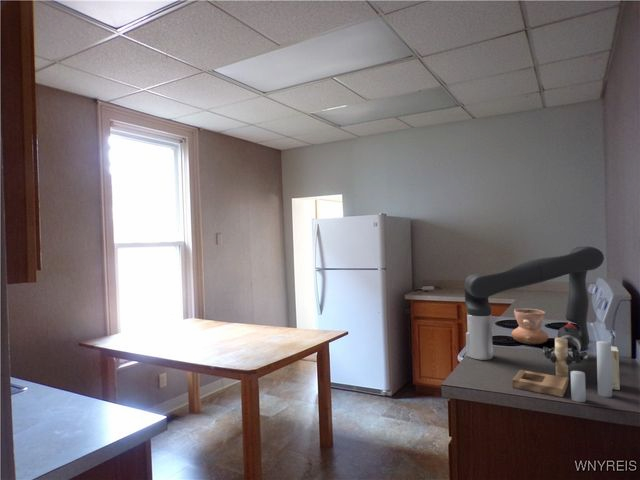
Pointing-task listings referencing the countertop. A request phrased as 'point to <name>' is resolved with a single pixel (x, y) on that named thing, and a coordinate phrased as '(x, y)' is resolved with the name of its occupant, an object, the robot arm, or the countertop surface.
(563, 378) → the wooden board with hole
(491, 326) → the robot arm
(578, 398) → the short grey dowel
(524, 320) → the ceramic jug
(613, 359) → the skincare box
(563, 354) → the beech dowel
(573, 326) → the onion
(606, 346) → the tall grey dowel
